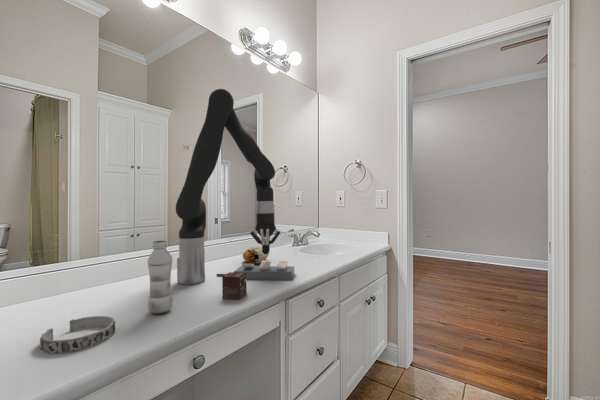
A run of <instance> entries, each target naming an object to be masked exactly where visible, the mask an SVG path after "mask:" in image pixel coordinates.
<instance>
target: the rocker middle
mask: <svg viewBox="0 0 600 400" xmlns="http://www.w3.org/2000/svg"><path fill="white" fill-rule="evenodd" d="M271 263H272V260H265V261H262V262H260V263H259V264H260V265H259V266H260V267H259V270H268V269H269V268H270V266H271Z"/></svg>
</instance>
